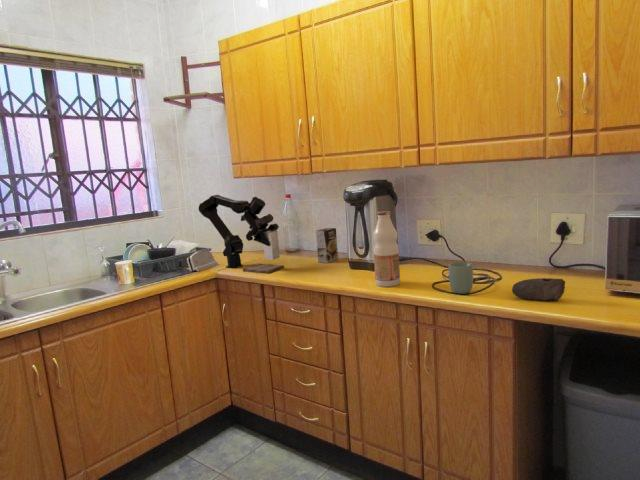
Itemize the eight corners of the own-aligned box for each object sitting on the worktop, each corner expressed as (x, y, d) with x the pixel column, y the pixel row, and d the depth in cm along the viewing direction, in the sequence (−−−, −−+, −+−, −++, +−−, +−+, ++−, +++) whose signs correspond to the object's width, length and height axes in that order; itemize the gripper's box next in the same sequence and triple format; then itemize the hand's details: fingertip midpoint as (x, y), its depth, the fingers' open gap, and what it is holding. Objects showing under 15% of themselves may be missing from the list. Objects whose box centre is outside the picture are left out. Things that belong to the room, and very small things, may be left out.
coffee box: (328, 263, 219) (325, 230, 216) (317, 262, 223) (315, 230, 220) (338, 259, 226) (336, 227, 223) (328, 258, 230) (326, 227, 227)
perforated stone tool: (511, 300, 142) (510, 279, 140) (512, 295, 146) (512, 275, 145) (565, 304, 134) (565, 281, 133) (565, 299, 139) (565, 277, 138)
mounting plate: (242, 271, 216) (242, 269, 216) (259, 265, 226) (259, 263, 226) (267, 273, 207) (267, 271, 207) (284, 267, 216) (284, 265, 216)
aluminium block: (265, 259, 213) (262, 232, 211) (271, 257, 217) (269, 230, 215) (273, 259, 210) (270, 232, 208) (279, 257, 214) (277, 230, 212)
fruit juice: (378, 288, 167) (373, 214, 163) (373, 282, 177) (368, 211, 172) (403, 285, 168) (399, 211, 164) (396, 279, 177) (392, 209, 173)
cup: (467, 296, 149) (467, 267, 147) (445, 294, 154) (444, 265, 152) (477, 290, 154) (476, 262, 153) (455, 288, 159) (454, 260, 158)
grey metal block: (197, 271, 224) (189, 253, 224) (191, 274, 226) (183, 256, 226) (219, 264, 238) (211, 247, 239) (212, 267, 241) (205, 249, 241)
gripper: (247, 211, 204) (268, 236, 200) (274, 207, 220) (293, 229, 215) (237, 228, 210) (256, 252, 206) (263, 222, 225) (282, 245, 221)
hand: (273, 244), depth 212 cm, fingers closed on aluminium block, 5 cm apart
